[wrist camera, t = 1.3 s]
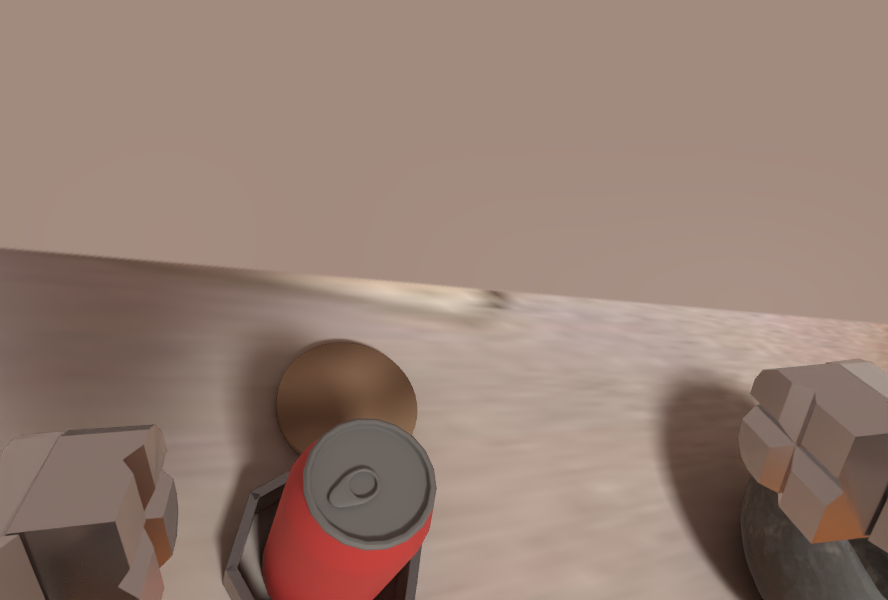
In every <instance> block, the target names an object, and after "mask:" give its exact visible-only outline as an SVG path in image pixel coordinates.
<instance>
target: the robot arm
mask: <svg viewBox="0 0 888 600" xmlns="http://www.w3.org/2000/svg"><path fill="white" fill-rule="evenodd" d="M750 395H751V397H752V399H753V401H754V403H755V405H756V406H755V407H754V408H753V409H752V410H751V411H750V412H749V413H748V414H747V415H746V416H745V417H744V418H743V419H742V423H741V427H740V431H739V435H738V442H739V448H740V454H741V458H742V460H743V462H744V464H745V466H746V468H747V470H748V471H749V472H750V473H751V475H752V476H753V477H754V478H755V479H756V481H757V482H758V483H760V484H762V485H764V486H765V487H767V488H769V489H771V490H773V491H775V492H777V493H778V504H779V507H780V508H781V510H782V511H783V512H784V513H785V514H786V515H787V517H788V518H789V519H790V520H791V521H792V522H793V523H794V525H795V526H796V527H797V528H798V529H799V530H800V531H801V533H802V534H803V535H804V536H805V537H806V538H807V539H808V541H809V542H810V543H811V544H813V543H822V542H830V541H839V540H848V539H857V538H866V537H869V539H868V541H870V542H871V543H873V544H874V545H876V546H878V547H879V548H881V549H882V550H884V551H886V552H887V553H888V373H887V372H885V371H884V370H882V369H881V368H879V367H878V366H877V365H875V364H874V363H872V362H869V361H865V360H861V359H852V360H844V361H835V362H827V363H825V364H819V365H809V366H798V367H788V368H777V369H767V370H762V372H761V373H760V374H759V375H758V376H757V377H756V378H755V380H754V383H753V386H752V390H751V393H750ZM166 452H167V450H166V446H165V442H164V439H163V435H162V431H161V429H160V428H158V427H157V426H156V425H141V426H127V427H113V428H99V429H84V430H70V431H67V432H63V431H60V432H48V433H36V434H24V435H21V436H19V437H17V438H15V439H13V440H12V441H11V442H10V443H9V444H8V446H7V447H6V449H5V450H4V452H3V453H2V455H1V456H0V600H161V599H162V595H163V591H164V584H163V580H162V576H161V572H160V569H159V568H160V567H161V566H162V565H163V564H164V563H165V562H166V561H167V560H168V559H169V558H171V557H172V555H173V550H174V546H175V541H176V537H177V525H178V502H177V493H176V488H175V484H174V479H173V478H172V477H171V476H169V475H168V474H167V473H165V472H164V471H163V470H161V469H162V465H163V462H164V459H165V455H166Z"/></svg>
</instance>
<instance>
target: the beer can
mask: <svg viewBox="0 0 888 600" xmlns="http://www.w3.org/2000/svg"><path fill="white" fill-rule="evenodd" d="M436 489H437V488H436V481H435V474H434V468H433V466H432V464H431V462H430V459H429V457H428V455H427V453H426V451H425V450H424V448H423V447H422V446H421V445H420V444H419V443H418V441H417V440H416V439H415V438H414V437H413V436H412V435H411V434H409V433H408V432H406V431H405V430H403V429H402V428H400V427H398V426H397V425H395V424H392V423H389V422H386V421H382V420H379V419H358V418H357V419H354V420H350V421H347V422H343V423H340V424H337V425H336V426H334V427H333V428H332V429H330V430H329V431H327V432H326V433H324V434H323V435H322V436H321V437H320V438H319V439H318V440H316V441H315V442H313V443H312V444H310V445H309V446H308V447H307V448H306V449H305V450H304V451H303V453H302V454H301V455H300V457H299V458H298V459H297V460H296V462H295V463H294V464H293V466H292V467H291V470H290V473H289V476H288V479H287V481H286V484H285V487H284V490H283V493H282V496H281V499H280V502H279V505H278V508H277V512H276V515H275V518H274V521H273V524H272V527H271V530H270V533H269V536H268V539H267V542H266V545H265V548H264V551H263V560H262V576H263V579H264V582H265V586H266V589H267V592H268V595H269V596H270V598H271V599H272V600H373V599H374V598H375V597H376V596H377V595H378V594H379V593H380V592H381V591H382V590H383V588H384V587H385V586H386V585H387V584H388V583H389V582H390V581H391V580H392V579H393V578H394V577H395V575H396V574H397V573H398V572H399V571H400V570H401V569H402V568H403V567H404V566H405V565H406V564H407V562H408V561H409V560H410V559H411V558H412V557H413V556H414V555H415V554H416V553H417V552H418V550H419V548H420V546H421V544H422V543H423V541H424V539H425V537H426V535H427V533H428V531H429V528H430V524H431V518H432V512H433V506H434V500H435V495H436Z"/></svg>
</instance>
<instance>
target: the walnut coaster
mask: <svg viewBox="0 0 888 600" xmlns="http://www.w3.org/2000/svg"><path fill="white" fill-rule="evenodd" d="M276 415H277V420H278V424H279V427H280V429H281V432H282V434H283V436H284V437H285V439H286V441H287V442H288V443H289V445H290V446H291V447H292V448H293V449H294V450H295V451H296V453H297V454H299V455H301V454H302V453H303V451H304V450H305V449H306V448H307V447H308V446H309V445H310V444H312V443H313V442H315V441H316V440H318V439H319V438H320V437H321V436H322V435H323V434H324V433H326V432H327V431H329V430H330V429H332V428H333V427H334V426H336V425H337V424H340V423H343V422H347V421H350V420H354V419H357V418H358V419H379V420H382V421H386V422H389V423H392V424H395V425H397V426H398V427H400V428H402V429H403V430H405V431H406V432H408V433H409V434H411V435H412V433H413V430H414V428H415V424H416V419H417V402H416V397H415V393H414V390H413V387H412V385H411V383H410V381H409V380H408V378H407V376H406V375H405V373H404V372H403V371H402V370H401V369H400V367H399V366H398V365H396V364H395V363H394V362H393V361H392V360H391V359H389V358H388V357H387V356H385V355H384V354H382V353H380V352H378V351H376V350H374V349H372V348H369V347H366V346H363V345H359V344H354V343H329V344H325V345H321V346H318V347H315V348H313V349H311V350H309V351H307V352H305V353H303V354H302V355H301V356H299V357H298V358H297V359H296V360H295V361H294V362H293V363H292V364H291V365H290V366H289V367H288V369H287V370H286V372H285V374H284V375H283V377H282V380H281V382H280V386H279V390H278V394H277V399H276Z"/></svg>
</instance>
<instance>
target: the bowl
mask: <svg viewBox="0 0 888 600" xmlns="http://www.w3.org/2000/svg"><path fill="white" fill-rule="evenodd" d="M741 531H742V542H743V547H744V553H745V557H746V560H747V564H748V567H749V569H750V572H751V574H752V577H753V579H754V582H755V584H756V587H757V589H758V591H759V593H760V595H761V597H762V598H763V600H888V553H887V552H886V551H884V550H882V549H881V548H879V547H878V546H876V545H874V544H873V543H871V542H870V541H868V539H869V537H866V538H857V539H848V540H839V541H830V542H822V543H813V544H811V543H810V542H809V541H808V539H807V538H806V537H805V536H804V535H803V534H802V533H801V531H800V530H799V529H798V528H797V527H796V526H795V525H794V523H793V522H792V521H791V520H790V519H789V518H788V517H787V515H786V514H785V513H784V512H783V511H782V510H781V508H780V507H779V504H778V493H777V492H775V491H773V490H771V489H769V488H767V487H765V486H764V485H762V484H760V483H758V482H757V481H756V479H755V478H754V477H753V476H752V477H751V478H750V481H749V483H748V485H747V488H746V491H745V494H744V498H743V503H742V508H741Z"/></svg>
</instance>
